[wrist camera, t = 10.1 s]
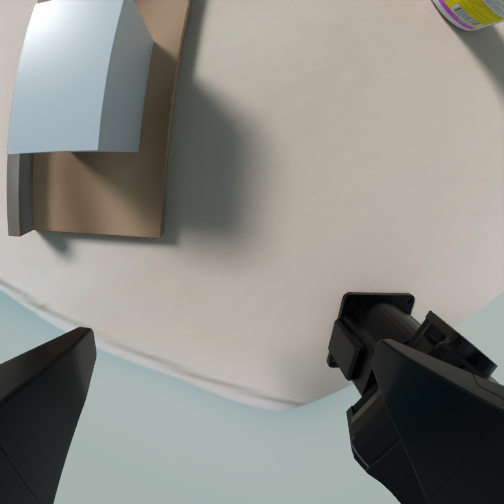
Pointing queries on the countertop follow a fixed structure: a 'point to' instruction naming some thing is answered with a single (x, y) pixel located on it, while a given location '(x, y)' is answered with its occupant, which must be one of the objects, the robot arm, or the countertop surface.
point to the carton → (81, 78)
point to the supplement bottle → (472, 12)
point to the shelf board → (108, 157)
